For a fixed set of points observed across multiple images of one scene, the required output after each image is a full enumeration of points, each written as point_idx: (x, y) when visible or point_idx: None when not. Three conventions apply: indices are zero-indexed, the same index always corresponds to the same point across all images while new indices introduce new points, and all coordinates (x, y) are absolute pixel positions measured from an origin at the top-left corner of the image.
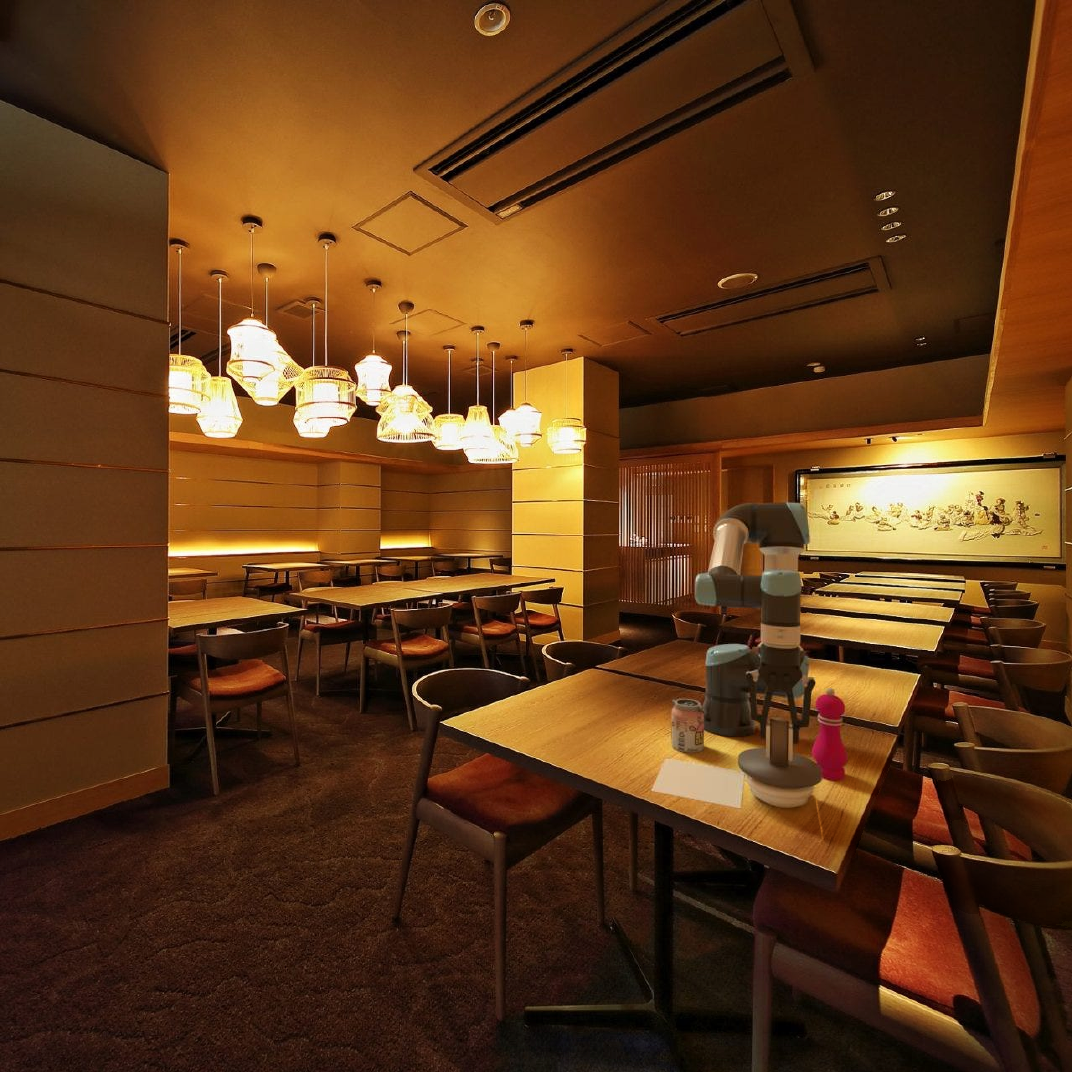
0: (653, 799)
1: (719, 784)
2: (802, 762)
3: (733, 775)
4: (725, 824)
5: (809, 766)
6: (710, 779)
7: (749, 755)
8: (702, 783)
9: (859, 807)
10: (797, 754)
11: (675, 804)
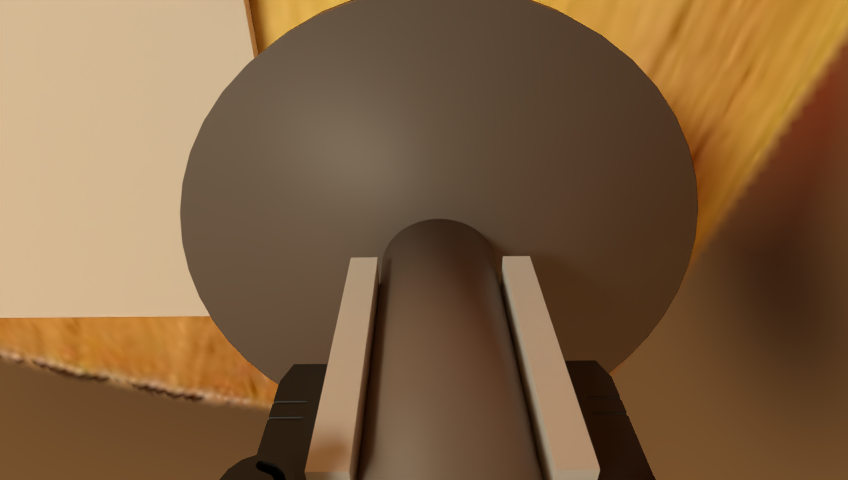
0: (5, 340)
1: (160, 154)
2: (594, 193)
3: (184, 6)
4: (275, 387)
5: (625, 238)
6: (99, 118)
7: (247, 219)
8: (88, 177)
9: (799, 83)
10: (592, 49)
11: (87, 343)
